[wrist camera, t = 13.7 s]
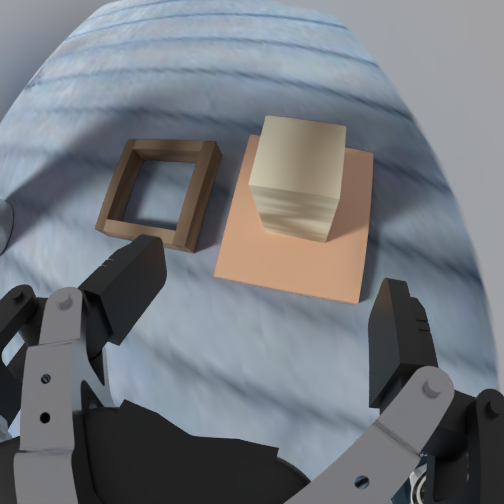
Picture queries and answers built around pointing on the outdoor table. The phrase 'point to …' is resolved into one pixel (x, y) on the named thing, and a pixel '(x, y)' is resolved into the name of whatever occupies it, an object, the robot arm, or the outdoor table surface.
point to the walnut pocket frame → (195, 199)
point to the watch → (413, 485)
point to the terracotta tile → (300, 250)
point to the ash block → (298, 176)
